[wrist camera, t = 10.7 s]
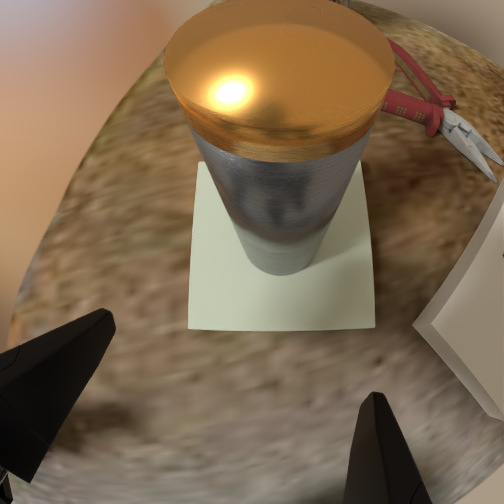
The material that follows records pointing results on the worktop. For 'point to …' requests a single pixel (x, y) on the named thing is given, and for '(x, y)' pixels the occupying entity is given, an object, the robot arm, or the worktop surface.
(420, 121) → the pliers
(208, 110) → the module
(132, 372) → the worktop surface
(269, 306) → the mat
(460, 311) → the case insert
